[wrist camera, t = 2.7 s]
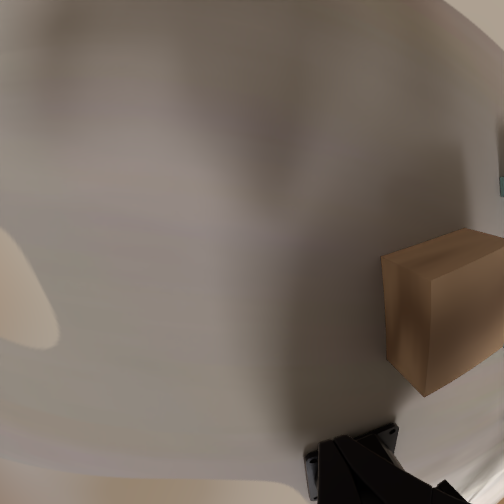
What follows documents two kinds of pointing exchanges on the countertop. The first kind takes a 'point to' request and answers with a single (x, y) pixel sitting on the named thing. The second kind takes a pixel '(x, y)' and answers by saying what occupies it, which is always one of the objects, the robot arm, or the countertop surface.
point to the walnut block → (444, 306)
